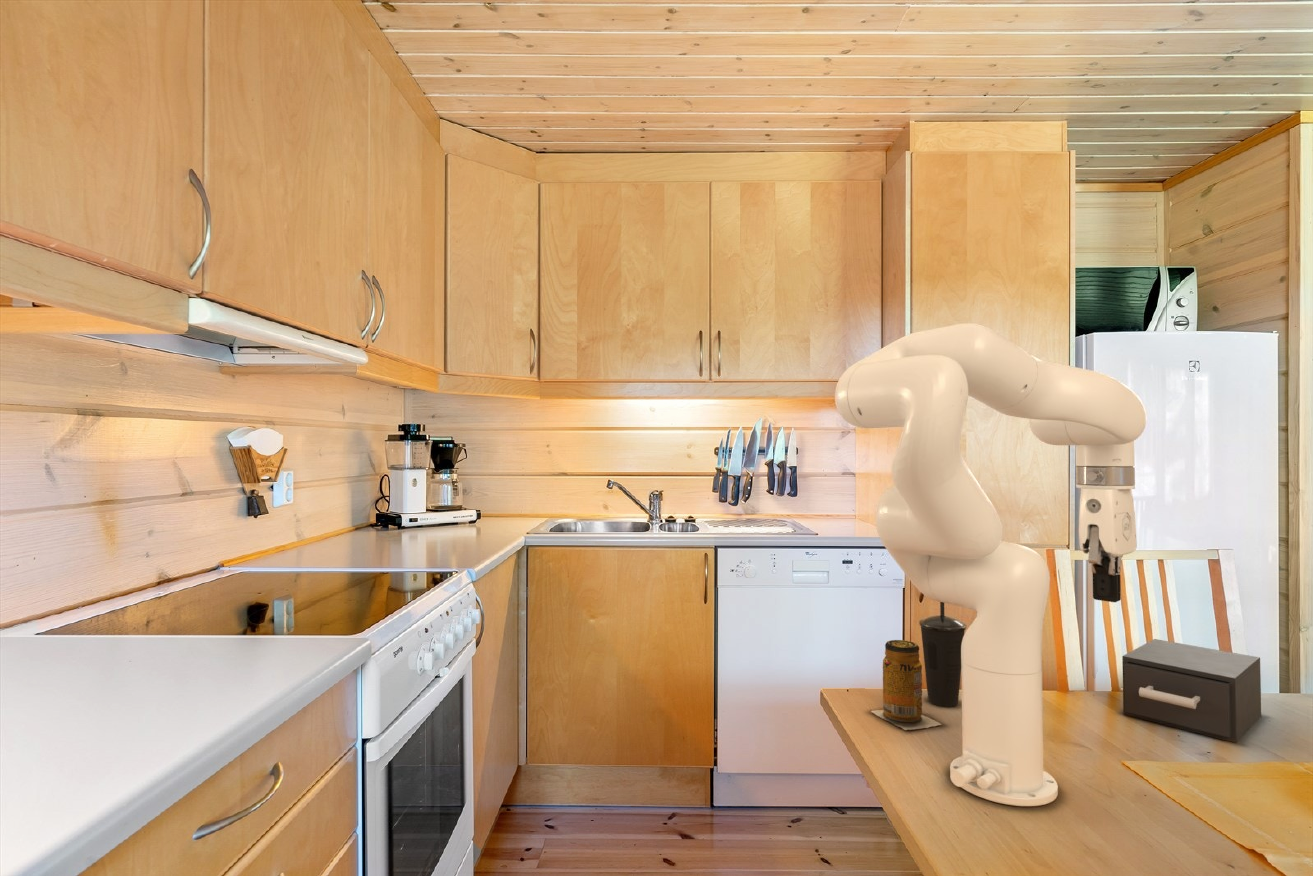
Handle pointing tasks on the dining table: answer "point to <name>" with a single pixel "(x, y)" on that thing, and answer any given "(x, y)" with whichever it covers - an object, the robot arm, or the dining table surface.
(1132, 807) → the dining table surface
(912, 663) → the condiment
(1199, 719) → the drawer
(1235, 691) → the cabinet
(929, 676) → the drinking cup
